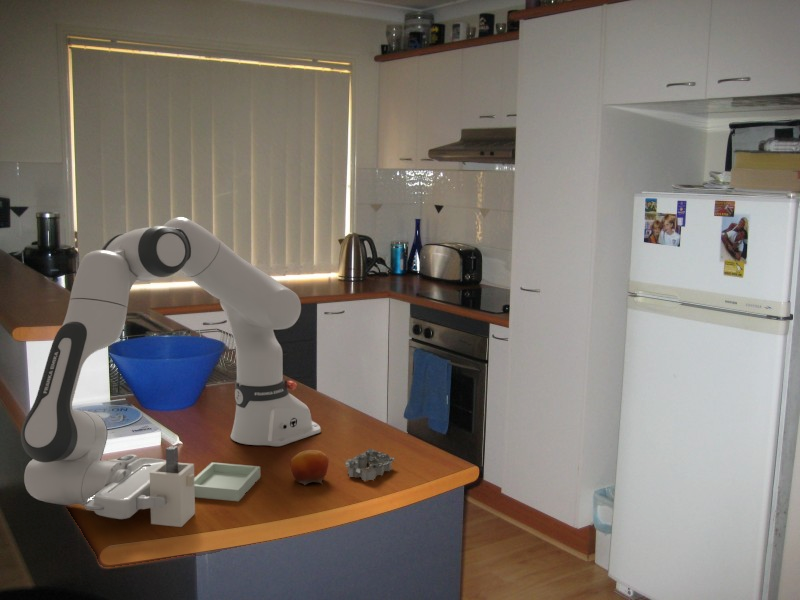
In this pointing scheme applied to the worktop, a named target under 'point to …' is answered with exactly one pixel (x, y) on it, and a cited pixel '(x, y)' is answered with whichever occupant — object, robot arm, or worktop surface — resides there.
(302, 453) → the fruit
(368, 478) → the egg carton
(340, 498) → the worktop surface
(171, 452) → the post
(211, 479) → the tray
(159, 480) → the white square cup
